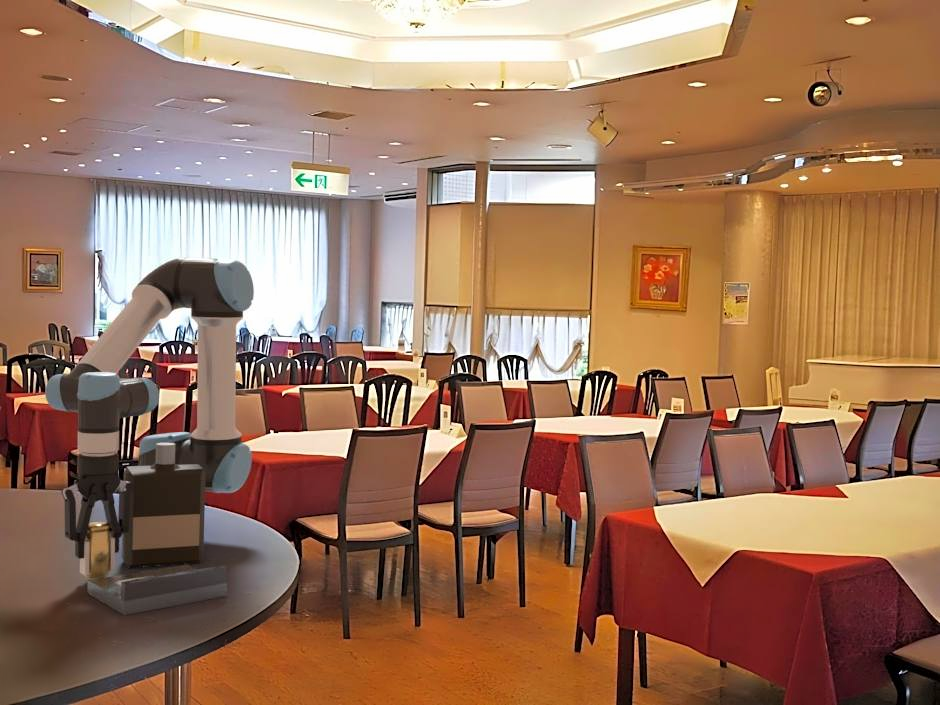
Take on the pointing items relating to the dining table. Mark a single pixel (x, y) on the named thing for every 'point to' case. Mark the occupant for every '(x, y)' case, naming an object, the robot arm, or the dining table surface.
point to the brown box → (165, 512)
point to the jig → (160, 588)
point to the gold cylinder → (98, 549)
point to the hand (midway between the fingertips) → (97, 571)
